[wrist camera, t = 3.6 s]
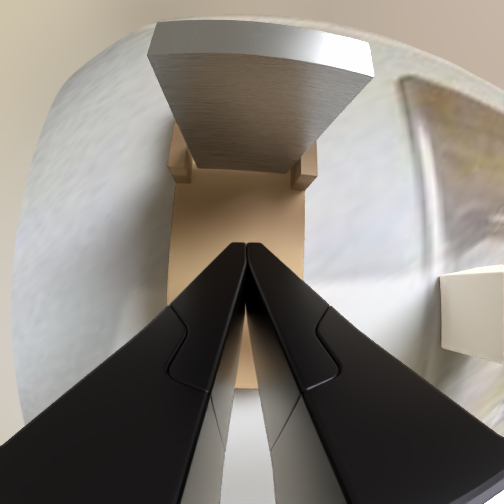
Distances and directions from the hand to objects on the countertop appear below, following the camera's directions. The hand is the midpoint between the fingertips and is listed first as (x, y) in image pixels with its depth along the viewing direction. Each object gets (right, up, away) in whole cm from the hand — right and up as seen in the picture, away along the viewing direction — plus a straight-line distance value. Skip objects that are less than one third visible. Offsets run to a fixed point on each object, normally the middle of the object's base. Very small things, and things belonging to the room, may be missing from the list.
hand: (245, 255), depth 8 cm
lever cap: (0, +5, +7) cm, 9 cm away
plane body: (-1, +2, +10) cm, 10 cm away
